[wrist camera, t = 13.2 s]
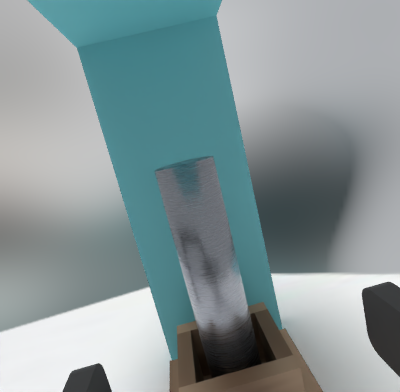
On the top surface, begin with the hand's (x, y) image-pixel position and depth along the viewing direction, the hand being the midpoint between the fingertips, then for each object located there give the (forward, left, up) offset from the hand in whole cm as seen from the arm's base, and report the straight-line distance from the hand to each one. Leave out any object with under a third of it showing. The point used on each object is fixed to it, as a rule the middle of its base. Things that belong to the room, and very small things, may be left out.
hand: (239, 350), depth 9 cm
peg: (0, +9, -11) cm, 14 cm away
